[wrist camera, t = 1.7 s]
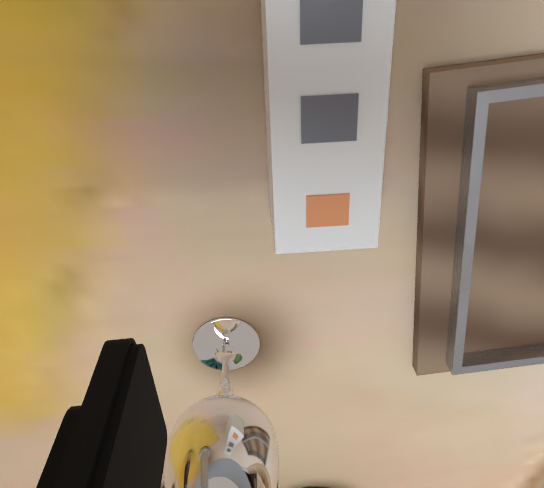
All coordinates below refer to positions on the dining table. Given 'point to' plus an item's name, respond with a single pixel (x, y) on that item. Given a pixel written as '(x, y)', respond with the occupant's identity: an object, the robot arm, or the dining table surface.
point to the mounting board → (481, 218)
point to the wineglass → (223, 421)
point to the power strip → (326, 119)
